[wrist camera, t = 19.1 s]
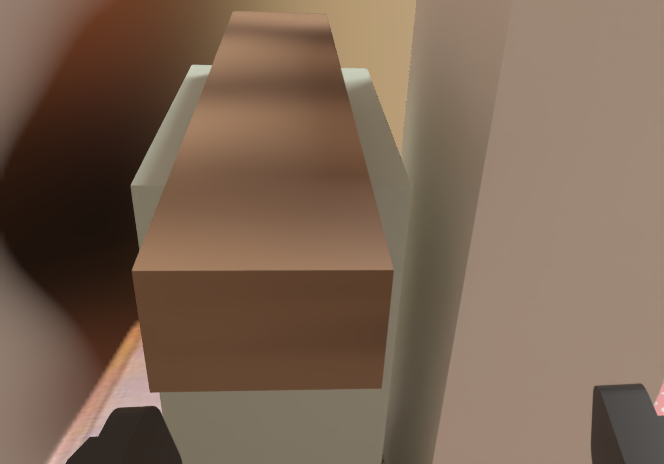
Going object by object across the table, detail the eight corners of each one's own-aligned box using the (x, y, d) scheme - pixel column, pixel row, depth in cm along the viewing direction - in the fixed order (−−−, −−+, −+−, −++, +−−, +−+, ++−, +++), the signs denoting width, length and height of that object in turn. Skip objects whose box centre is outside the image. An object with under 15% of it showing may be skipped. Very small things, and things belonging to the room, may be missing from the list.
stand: (572, 604, 30) (908, -219, 14) (190, 618, 28) (68, -265, 12) (497, 408, 40) (636, -180, 24) (218, 412, 39) (171, -203, 23)
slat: (235, 69, 28) (233, 11, 27) (324, 71, 28) (326, 13, 27) (149, 392, 11) (131, 271, 9) (381, 388, 11) (393, 269, 10)
